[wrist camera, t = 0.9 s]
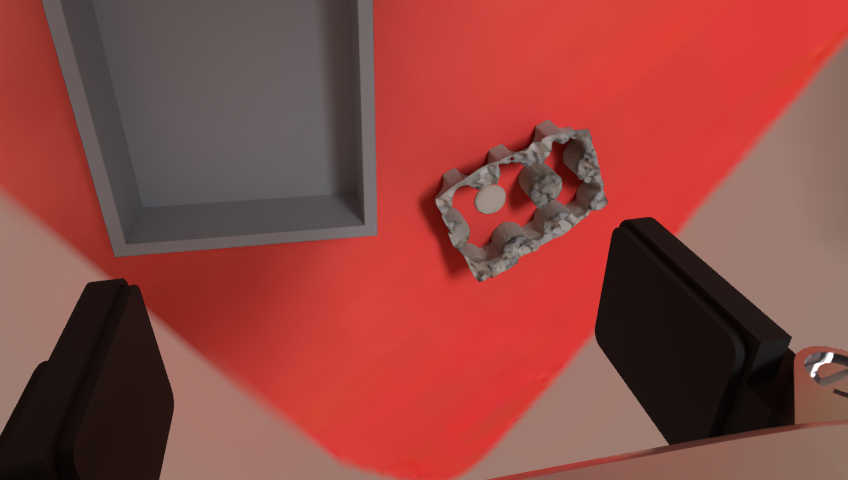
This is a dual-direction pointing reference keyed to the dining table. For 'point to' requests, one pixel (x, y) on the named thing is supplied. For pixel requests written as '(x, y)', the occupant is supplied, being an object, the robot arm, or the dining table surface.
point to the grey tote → (223, 118)
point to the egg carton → (537, 185)
